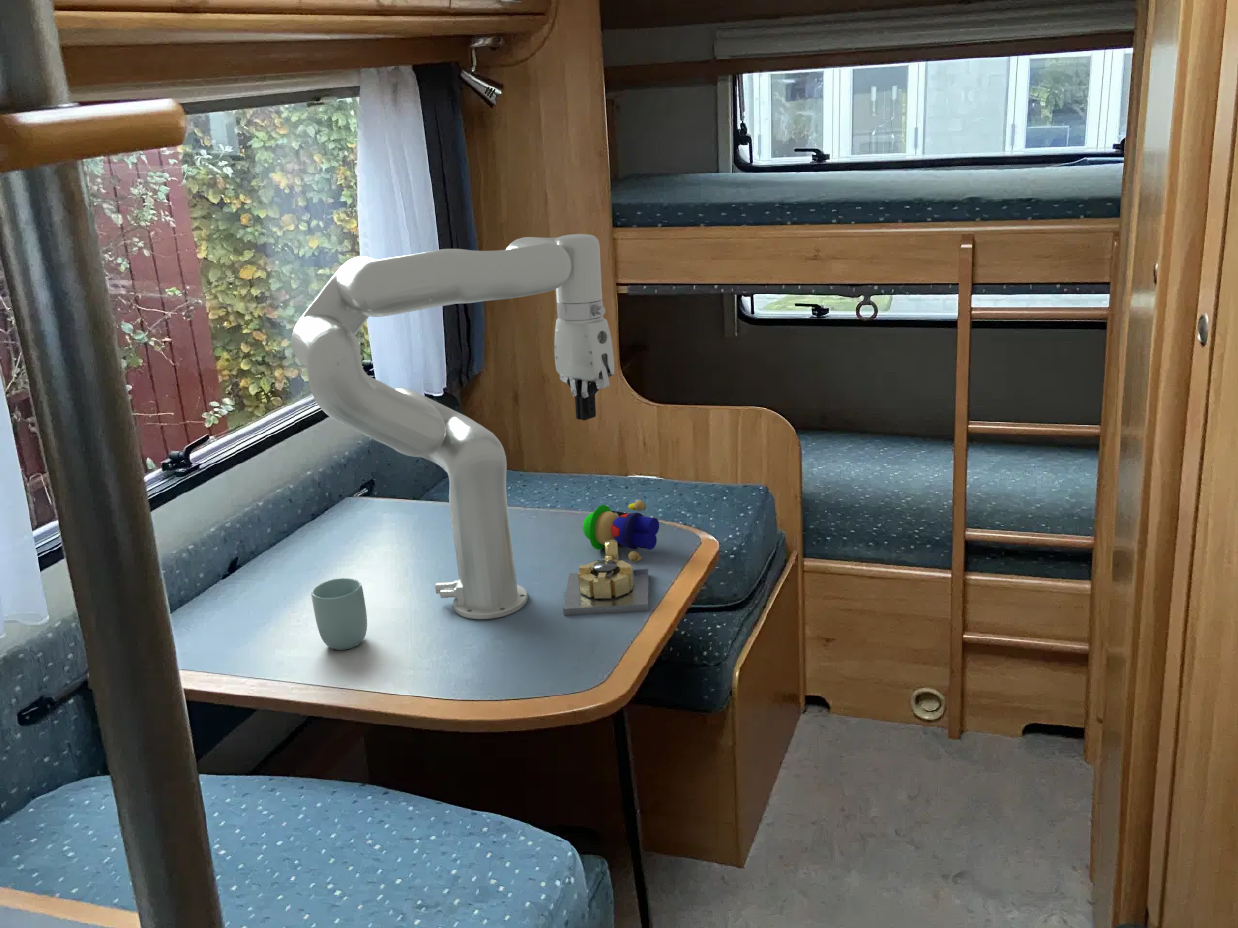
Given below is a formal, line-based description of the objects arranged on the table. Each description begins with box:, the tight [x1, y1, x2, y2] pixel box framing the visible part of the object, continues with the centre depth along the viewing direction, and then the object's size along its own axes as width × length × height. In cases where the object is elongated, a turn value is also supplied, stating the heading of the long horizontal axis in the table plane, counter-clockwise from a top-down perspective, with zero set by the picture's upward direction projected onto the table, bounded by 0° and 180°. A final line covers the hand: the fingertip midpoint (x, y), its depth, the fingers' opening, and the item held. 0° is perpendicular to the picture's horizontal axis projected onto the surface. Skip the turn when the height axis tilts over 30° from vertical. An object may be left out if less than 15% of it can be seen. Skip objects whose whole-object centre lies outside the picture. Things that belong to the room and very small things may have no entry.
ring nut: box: [577, 540, 634, 598], centre depth 192 cm, size 13×9×5 cm
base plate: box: [562, 559, 650, 616], centre depth 191 cm, size 14×15×6 cm
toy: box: [582, 499, 660, 563], centre depth 208 cm, size 12×9×15 cm
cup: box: [310, 577, 368, 651], centre depth 180 cm, size 8×8×10 cm
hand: (586, 417), depth 191 cm, fingers closed
